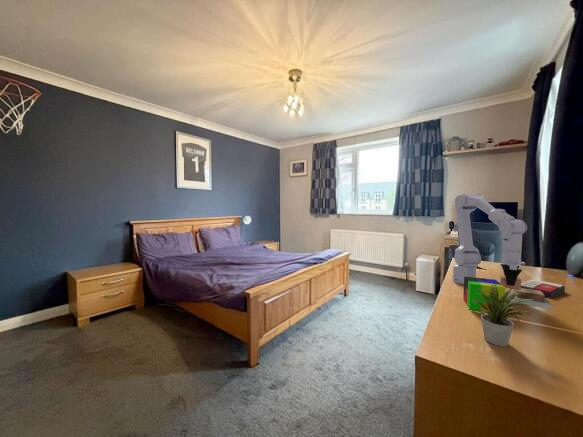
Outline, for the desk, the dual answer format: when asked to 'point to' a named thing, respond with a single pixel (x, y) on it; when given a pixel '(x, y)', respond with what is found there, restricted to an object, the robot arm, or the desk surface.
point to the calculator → (544, 287)
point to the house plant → (499, 316)
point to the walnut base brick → (530, 294)
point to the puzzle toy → (472, 289)
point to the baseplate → (532, 302)
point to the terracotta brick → (516, 286)
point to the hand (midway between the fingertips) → (509, 283)
